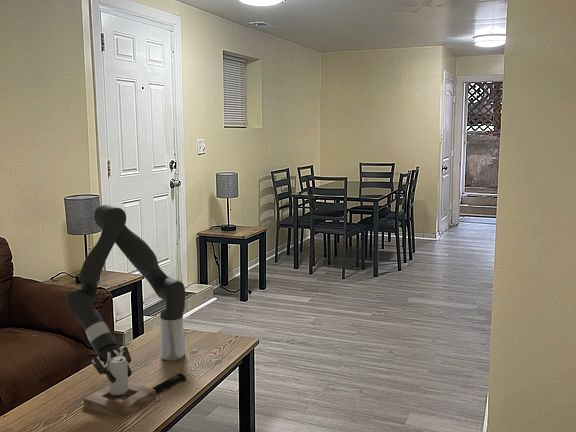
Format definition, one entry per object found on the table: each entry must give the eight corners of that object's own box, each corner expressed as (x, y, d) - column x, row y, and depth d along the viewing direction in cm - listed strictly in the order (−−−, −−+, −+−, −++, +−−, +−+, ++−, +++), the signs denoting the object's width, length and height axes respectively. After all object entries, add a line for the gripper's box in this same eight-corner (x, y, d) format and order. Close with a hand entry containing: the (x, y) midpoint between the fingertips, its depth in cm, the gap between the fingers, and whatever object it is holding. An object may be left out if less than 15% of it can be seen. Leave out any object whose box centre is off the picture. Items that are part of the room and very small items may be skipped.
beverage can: (122, 397, 196) (121, 363, 194) (105, 394, 197) (104, 361, 195) (131, 389, 202) (130, 356, 200) (114, 386, 203) (113, 354, 202)
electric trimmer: (149, 393, 208) (149, 385, 208) (179, 378, 221) (179, 370, 220) (157, 396, 206) (156, 388, 206) (187, 380, 219) (186, 372, 218)
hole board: (119, 387, 212) (119, 379, 211) (155, 397, 204) (155, 389, 204) (83, 406, 197) (83, 398, 196) (121, 418, 189) (120, 409, 189)
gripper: (86, 337, 196) (109, 380, 190) (122, 326, 207) (143, 367, 202) (78, 348, 200) (99, 391, 194) (113, 337, 211) (134, 377, 206)
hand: (122, 378), depth 198 cm, fingers closed on beverage can, 5 cm apart
